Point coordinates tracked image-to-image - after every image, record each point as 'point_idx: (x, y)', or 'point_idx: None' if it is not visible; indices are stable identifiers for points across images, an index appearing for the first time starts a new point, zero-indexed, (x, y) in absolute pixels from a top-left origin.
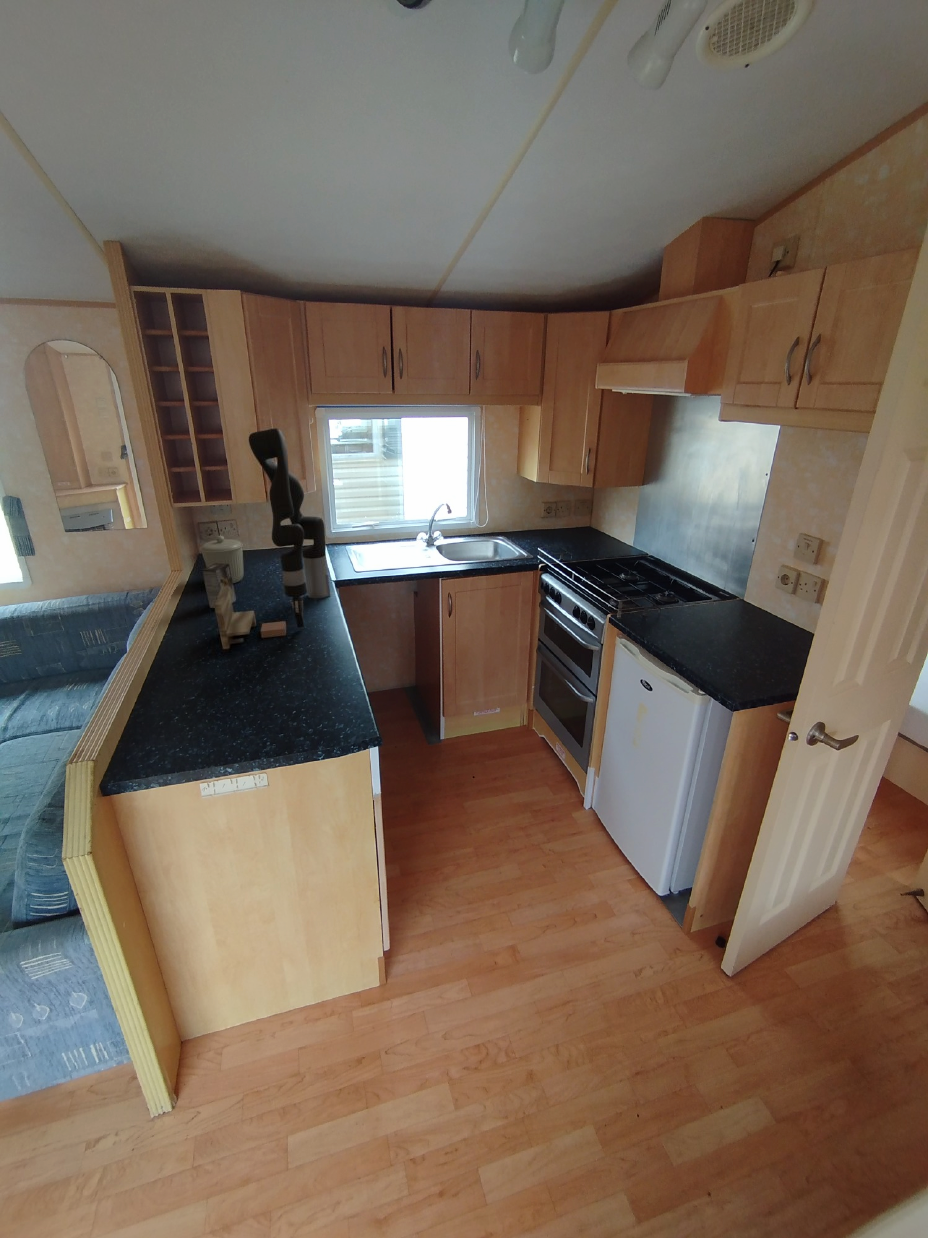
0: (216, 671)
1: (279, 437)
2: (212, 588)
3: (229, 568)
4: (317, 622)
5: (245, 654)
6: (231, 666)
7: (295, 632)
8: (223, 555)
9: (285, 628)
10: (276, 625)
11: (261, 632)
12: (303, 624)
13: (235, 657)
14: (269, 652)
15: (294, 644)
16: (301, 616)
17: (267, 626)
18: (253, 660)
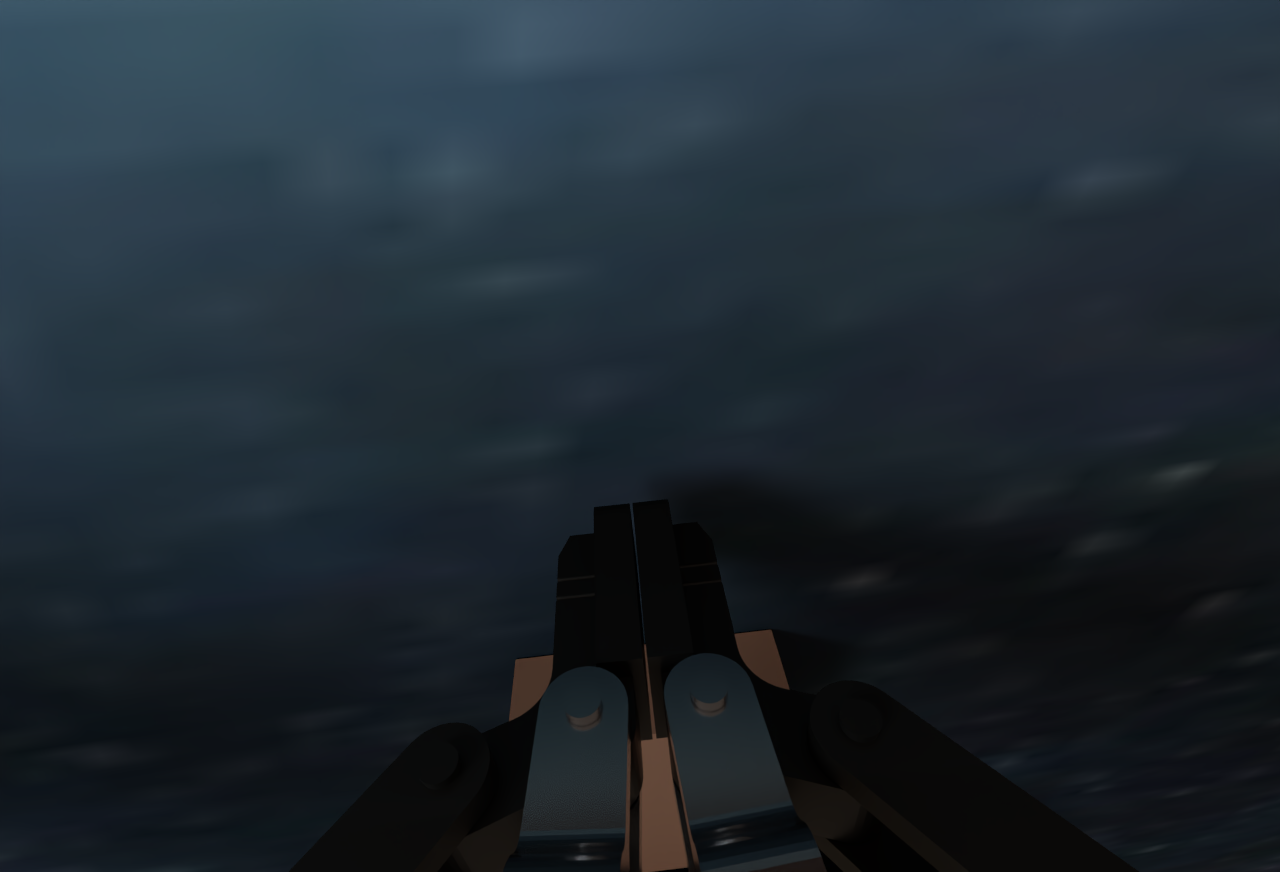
0: (1226, 839)
1: None
2: None
3: None
4: (277, 263)
5: (1066, 788)
6: (1219, 804)
7: (713, 546)
8: None
9: (648, 681)
10: (649, 794)
11: None
12: (656, 523)
13: (1077, 817)
14: (1161, 671)
15: (1129, 500)
16: (950, 747)
17: (658, 843)
18: (1235, 731)
